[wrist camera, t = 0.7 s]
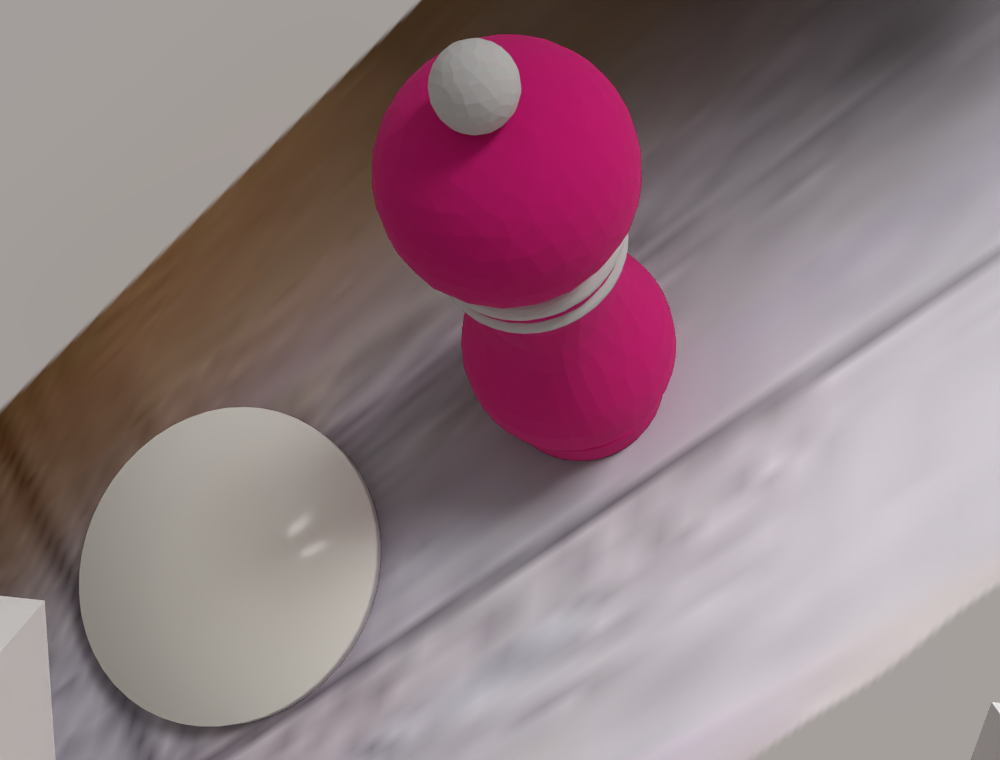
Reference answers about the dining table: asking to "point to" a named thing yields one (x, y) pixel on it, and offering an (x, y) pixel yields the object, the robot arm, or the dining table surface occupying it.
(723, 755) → the dining table surface
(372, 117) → the dining table surface
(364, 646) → the dining table surface
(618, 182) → the pepper mill
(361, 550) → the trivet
